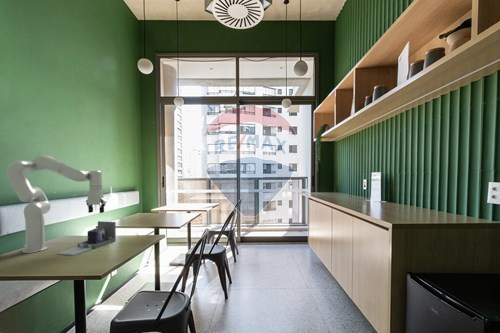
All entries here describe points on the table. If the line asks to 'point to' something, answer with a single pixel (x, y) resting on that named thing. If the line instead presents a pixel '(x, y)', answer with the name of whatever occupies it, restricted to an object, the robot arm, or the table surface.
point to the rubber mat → (75, 251)
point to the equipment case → (109, 235)
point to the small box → (96, 236)
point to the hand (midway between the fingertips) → (96, 212)
